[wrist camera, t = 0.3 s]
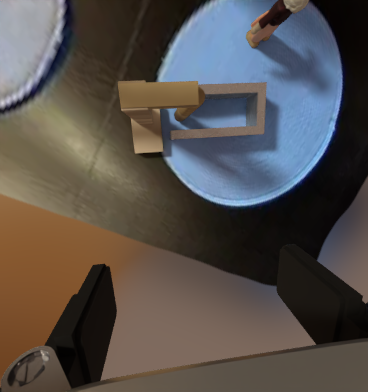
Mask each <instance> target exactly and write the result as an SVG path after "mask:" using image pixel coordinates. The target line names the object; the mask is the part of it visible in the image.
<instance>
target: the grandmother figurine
mask: <svg viewBox="0 0 368 392" xmlns="http://www.w3.org/2000/svg"><path fill="white" fill-rule="evenodd" d="M308 1H309V0H278V1H277V2H276V3H275V4H274V5H273V7H272V8H271V9H270V10H268V11H267V12H265V13H264V14H262V15H261V16H259V17H258V18H257V19H256V20H255V21H254V22H253V23H252V24H251V27H252V28H251V30H250V31H248V32H247V34H246V39H247V41H248V43H249V44H250V46H251V47H252V48H255V47H257V46H258V45H259V41H261V40H263V41H267V40H268V39H269V38H270V35H271V34H272V33H273V32H274V31H275V30H276V28H277V27H278V26H279V25H280V24H281V23H282V22H284V21H285V20H286V19H287V18H288V17H289V16H290V15H291V14H292V13H293V14H295V13H297V12H298V11H301V10H302V9H304V8H305V7H306V5H307V3H308Z"/></svg>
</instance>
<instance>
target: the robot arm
mask: <svg viewBox="0 0 368 392" xmlns="http://www.w3.org/2000/svg"><path fill="white" fill-rule="evenodd" d="M277 293H278V295H279V296H280V298H281V299H282V300H283V302H284V303H285V304H286V306H287V307H288V308H289V309H290V310H291V312H292V313H293V315H294V316H295V317H296V319H297V320H298V321H299V322H300V324H301V325H302V326H303V328H304V329H305V330H306V332H307V333H308V334H309V335H310V337H311V338H312V339H313V341H314V342H315V343H316V345H312V346H306V347H300V348H293V349H286V350H280V351H273V352H266V353H260V354H253V355H248V356H241V357H234V358H228V359H222V360H216V361H209V362H203V363H198V364H191V365H185V366H179V367H173V368H166V369H160V370H154V371H149V372H143V373H138V374H132V375H127V376H121V377H116V378H110V379H106V380H102V381H100V380H101V376H102V372H103V368H104V364H105V360H106V356H107V351H108V347H109V343H110V339H111V335H112V331H113V327H114V323H115V319H116V312H117V309H116V302H115V296H114V290H113V284H112V278H111V272H110V267H109V266H107V267H106V265H105V264H98V265H93V266H92V268H91V270H90V272H89V273H88V275H87V277H86V279H85V281H84V283H83V284H82V286H81V288H80V290H79V292H78V294H75V295H73V296H72V297H71V299H70V301H69V303H68V304H67V306H66V308H65V310H64V312H63V314H62V315H61V317H60V319H59V320H58V322H57V324H56V326H55V327H54V329H53V331H52V333H51V335H50V336H49V338H48V340H47V342H46V343H45V345H44V346H39V347H36V348H33V349H31V350H29V351H27V352H25V353H24V354H23V355H21V356H20V357H18V358H17V359H16V360H15V361H14V362H13V363H12V364H11V365H10V366H9V368H8V369H7V370H6V371H5V373H4V376H3V378H2V380H1V388H0V392H368V302H367V303H366V304H365V303H364V302H363V301H362V298H363V296H362V295H361V294H360V293H358V292H357V291H356V290H354V289H353V288H352V287H350V286H349V285H348V284H346V283H345V282H344V281H342V280H341V279H340V278H338V277H337V276H336V275H334V274H333V273H332V272H331V271H329V270H328V269H327V268H326V267H324V266H323V265H322V264H320V263H319V262H318V261H316V260H315V259H314V258H312V257H311V256H310V255H308V254H307V253H306V252H305V251H303V250H302V249H301V248H299V247H298V246H297V245H295V244H293V245H284V246H283V248H282V249H281V250H280V258H279V269H278V279H277Z"/></svg>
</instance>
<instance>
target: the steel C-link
mask: <svg viewBox="0 0 368 392" xmlns="http://www.w3.org/2000/svg"><path fill="white" fill-rule="evenodd" d="M266 84H267V82H265V83H235V84H204V85H198V86H199V87H201V88H202V89H203V91H204V93H205V100H207V99H231V98H247V100H246V127H228V128H209V129H191V130H173V131H170V140H173V139H190V138H207V137H224V136H241V135H257V134H264V126H265V105H266Z"/></svg>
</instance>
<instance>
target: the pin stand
mask: <svg viewBox="0 0 368 392" xmlns="http://www.w3.org/2000/svg"><path fill="white" fill-rule="evenodd" d="M118 88H119V96H120V103H121V110H122V111H123V112H124V113H125V114H127V115H128V116H129V117H130V118H131V123H132V132H133V140H134V148H135V153H148V152H163V143H162V131H161V119H160V109H169V108H177V110H176V112H175V114H174V117H175V119H176V120H177V121H179V122H181V121H183V120H184V119H186V118H187V117H188V116H189V115H190V114H191V113H193V112H194V111H195V110H196V109H197V108H199V107H200V106H201V105H202V104H203V103H204V100H205V93H204V91H203V89H202V88H201V87H199V86H198V81H186V82H154V83H146V82H145V81H118Z"/></svg>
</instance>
